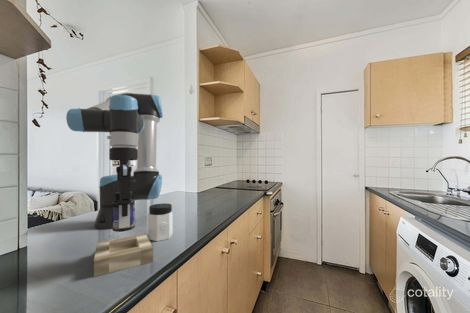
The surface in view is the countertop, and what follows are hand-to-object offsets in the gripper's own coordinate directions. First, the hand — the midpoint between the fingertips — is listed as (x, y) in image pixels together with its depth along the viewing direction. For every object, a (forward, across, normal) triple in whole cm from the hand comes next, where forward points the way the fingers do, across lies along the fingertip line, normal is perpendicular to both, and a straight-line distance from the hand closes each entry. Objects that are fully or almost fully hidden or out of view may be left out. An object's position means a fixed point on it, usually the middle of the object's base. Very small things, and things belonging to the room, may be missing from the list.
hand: (123, 224), depth 61 cm
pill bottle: (+2, 0, 0) cm, 2 cm away
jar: (+10, -12, +13) cm, 21 cm away
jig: (+10, -1, 0) cm, 10 cm away
